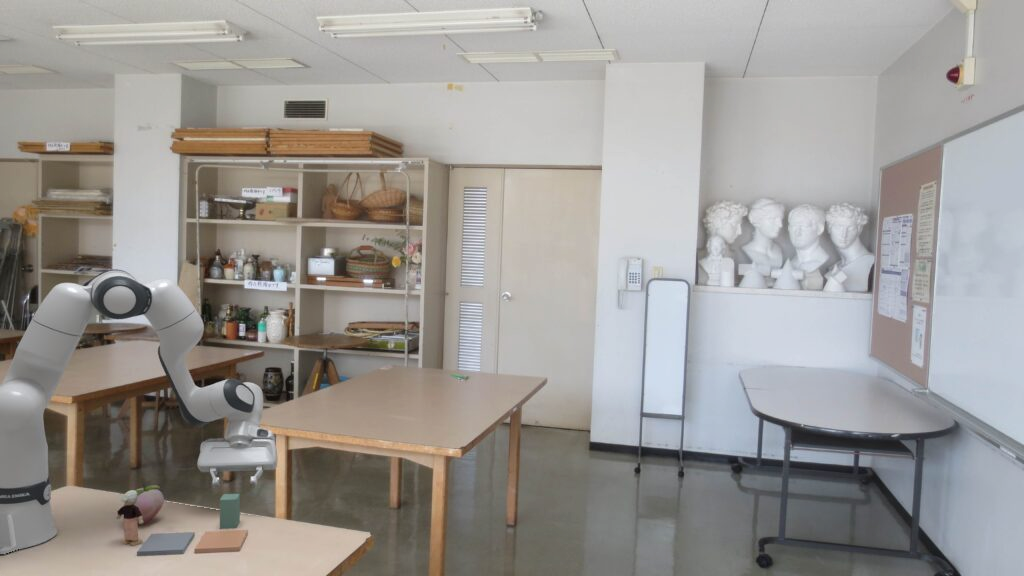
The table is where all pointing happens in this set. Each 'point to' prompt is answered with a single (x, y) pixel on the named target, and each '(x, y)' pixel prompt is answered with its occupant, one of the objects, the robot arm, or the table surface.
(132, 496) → the grandmother figurine
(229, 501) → the green wooden block
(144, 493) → the decorative fruit
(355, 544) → the table surface
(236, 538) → the terracotta tile
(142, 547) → the slate tile
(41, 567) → the table surface
